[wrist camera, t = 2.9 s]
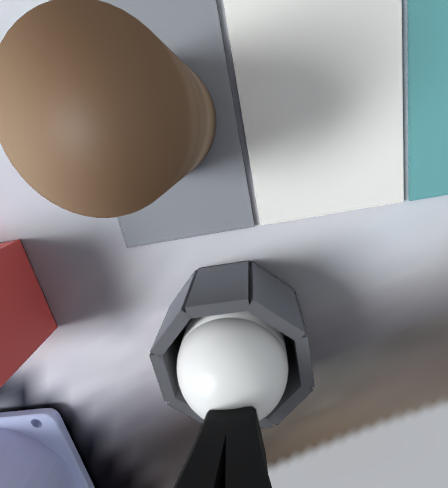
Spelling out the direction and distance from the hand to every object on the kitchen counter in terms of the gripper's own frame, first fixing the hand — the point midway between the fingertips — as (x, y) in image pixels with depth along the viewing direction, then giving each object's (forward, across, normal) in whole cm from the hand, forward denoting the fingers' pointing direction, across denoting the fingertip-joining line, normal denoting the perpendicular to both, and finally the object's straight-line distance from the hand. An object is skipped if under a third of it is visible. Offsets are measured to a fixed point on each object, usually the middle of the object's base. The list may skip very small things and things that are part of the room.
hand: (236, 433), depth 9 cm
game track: (+4, -4, -9) cm, 11 cm away
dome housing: (+4, 0, -1) cm, 4 cm away
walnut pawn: (+4, +1, -9) cm, 10 cm away
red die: (+4, +10, -4) cm, 11 cm away
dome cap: (+4, 0, -1) cm, 4 cm away
